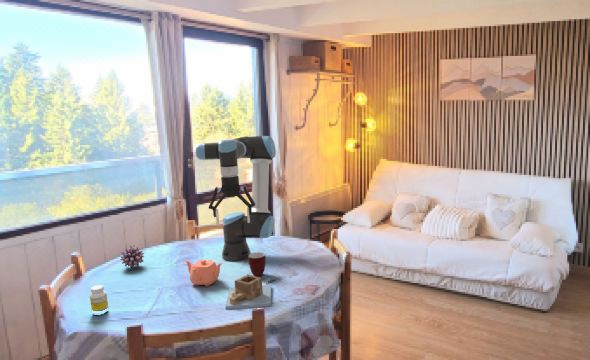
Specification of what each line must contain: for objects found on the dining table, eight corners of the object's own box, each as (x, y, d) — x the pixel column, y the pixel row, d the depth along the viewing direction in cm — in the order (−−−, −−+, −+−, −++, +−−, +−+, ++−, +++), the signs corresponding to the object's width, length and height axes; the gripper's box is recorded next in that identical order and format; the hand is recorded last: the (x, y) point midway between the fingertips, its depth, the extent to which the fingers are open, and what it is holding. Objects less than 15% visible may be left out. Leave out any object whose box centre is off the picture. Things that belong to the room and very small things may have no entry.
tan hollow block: (248, 289, 195) (247, 274, 194) (262, 293, 190) (261, 278, 189) (225, 301, 184) (223, 285, 183) (239, 306, 179) (237, 290, 178)
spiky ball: (145, 262, 239) (143, 240, 237) (145, 269, 228) (143, 247, 226) (122, 265, 236) (119, 243, 234) (121, 273, 225) (118, 250, 222)
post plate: (230, 290, 198) (229, 278, 197) (271, 287, 199) (270, 275, 198) (225, 308, 180) (224, 296, 180) (270, 306, 181) (269, 293, 180)
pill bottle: (95, 310, 186) (91, 284, 184) (110, 308, 186) (107, 283, 184) (90, 317, 180) (86, 291, 178) (105, 315, 180) (102, 289, 178)
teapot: (225, 284, 205) (223, 261, 203) (193, 292, 199) (191, 268, 197) (215, 274, 218) (213, 252, 216) (186, 280, 211) (183, 258, 209)
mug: (269, 278, 209) (268, 258, 207) (252, 281, 206) (251, 261, 204) (264, 271, 218) (263, 251, 217) (248, 273, 216) (246, 253, 214)
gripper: (199, 178, 191) (203, 227, 195) (258, 175, 192) (261, 223, 196) (202, 175, 199) (206, 222, 202) (258, 172, 199) (261, 219, 203)
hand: (233, 223), depth 199 cm, fingers open, 13 cm apart
